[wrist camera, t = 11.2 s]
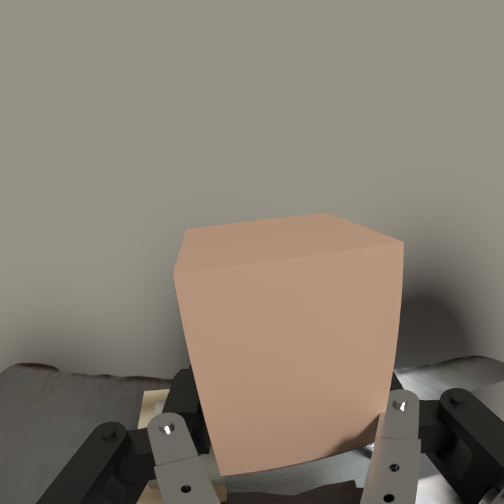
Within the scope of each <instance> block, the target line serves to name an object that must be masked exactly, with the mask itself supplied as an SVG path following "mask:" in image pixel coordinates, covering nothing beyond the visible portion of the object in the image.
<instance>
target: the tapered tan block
mask: <svg viewBox="0 0 504 504" xmlns="http://www.w3.org/2000/svg"><path fill="white" fill-rule="evenodd" d="M403 254H404V242H402V241H400V240H398V239H395V238H392V237H390V236H388V235H385V234H382V233H380V232H377V231H374V230H372V229H370V228H367V227H364V226H362V225H359V224H356V223H354V222H351V221H348V220H345V219H343V218H340V217H338V216H335V215H332V214H329V213H318V214H308V215H299V216H290V217H281V218H272V219H263V220H256V221H246V222H238V223H230V224H223V225H215V226H207V227H198V228H191V229H187V230H186V233H185V236H184V239H183V243H182V246H181V249H180V252H179V256H178V259H177V263H176V266H175V269H174V273H173V276H174V281H175V287H176V292H177V298H178V303H179V308H180V314H181V319H182V324H183V328H184V333H185V338H186V342H187V347H188V352H189V356H190V361H191V365H192V370H193V374H194V378H195V382H196V386H197V391H198V395H199V399H200V403H201V407H202V410H203V414H204V418H205V422H206V426H207V429H208V433H209V437H210V440H211V444H212V447H213V451H214V454H215V458H216V461H217V464H218V468H219V471H220V474H221V476H227V475H235V474H243V473H250V472H256V471H262V470H268V469H273V468H279V467H284V466H289V465H293V464H298V463H302V462H307V461H311V460H315V459H319V458H323V457H327V456H331V455H334V454H338V453H341V452H345V451H348V450H351V449H355V448H358V447H361V446H364V445H367V444H370V443H373V442H375V437H376V432H377V426H378V421H379V416H380V413H382V412H385V411H386V408H387V403H388V398H389V392H390V386H391V380H392V374H393V367H394V360H395V353H396V346H397V337H398V328H399V318H400V307H401V295H402V278H403Z"/></svg>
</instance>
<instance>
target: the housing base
mask: <svg viewBox="0 0 504 504" xmlns="http://www.w3.org/2000/svg"><path fill="white" fill-rule="evenodd" d="M373 447H374V442H373V443H370V444H367V445H364V446H361V447H358V448H355V449H351V450H348V451H345V452H341V453H338V454H334V455H331V456H327V457H323V458H319V459H315V460H311V461H307V462H302V463H298V464H293V465H289V466H284V467H279V468H273V469H268V470H262V471H256V472H250V473H243V474H235V475H227V476H223V479H224V482H225V485H226V489H227V492H228V493H236V492H264V493H272V494H280V495H296V494H299V493H302V492H305V491H308V490H311V489H314V488H317V487H320V486H323V485H328V484H334V483H339V482H345V481H350V480H355V483H356V487H360V488H364V484H365V480H366V476H367V472H368V468H369V464H370V459H371V455H372V451H373Z"/></svg>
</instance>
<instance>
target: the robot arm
mask: <svg viewBox="0 0 504 504" xmlns="http://www.w3.org/2000/svg"><path fill="white" fill-rule="evenodd" d="M210 446H211V440H210V437H209V433H208V429H207V426H206V422H205V418H204V414H203V410H202V407H201V403H200V399H199V395H198V391H197V386H196V382H195V378H194V374H193V370H192V365H191V364H190V367H189V369H181V370H180V371H179V372H178V373H177V374H176V375H175V376H174V379H173V381H172V386H171V387H170V390H169V393H168V396H167V398H166V401H165V404H164V407H163V410H162V413H161V414H159V415H157V416H155V417H153V418H152V419H151V420H150V421H149V423H148V425H147V427H146V428H142V429H136V430H130V431H126V429H125V427H124V426H123V425H122V424H120V423H118V422H106V423H103V424H101V425H99V426H98V427H96V428H95V429H94V430H93V432H92V433H91V434H90V435H89V437H88V438H87V439H86V440H85V442H84V443H83V444H82V446H81V447H80V448H79V449H78V451H77V452H76V453H75V454H74V456H73V457H72V458H71V459H70V461H69V462H68V463H67V465H66V466H65V467H64V468H63V470H62V471H61V472H60V473H59V475H58V476H57V477H56V479H55V480H54V481H53V482H52V484H51V485H50V486H49V487H48V489H47V490H46V491H45V493H44V494H43V495H42V496H41V498H40V499H39V500H38V502H37V503H36V504H136V503H137V502H138V500H139V498H140V496H141V494H142V492H143V491H144V489H145V487H146V485H147V483H148V481H149V480H155V479H157V482H158V485H159V489H160V492H161V496H162V499H163V502H164V504H415V500H416V493H417V484H418V475H419V474H418V473H419V464H420V453H426V455H427V456H428V458H429V459H430V460H431V461H432V463H433V464H434V465H435V466H436V468H437V469H438V470H439V471H440V473H441V474H442V475H443V476H444V478H445V479H446V480H447V482H448V483H449V484H450V485H451V487H452V488H453V489H454V490H455V492H456V493H457V494H458V495H459V497H460V498H461V499H462V501H463V502H464V503H465V504H504V422H503V421H502V420H501V419H500V418H499V417H497V416H496V415H495V414H494V413H493V412H492V411H491V410H490V409H488V408H487V407H486V406H485V405H484V404H483V403H482V402H481V401H479V400H478V399H477V398H476V397H475V396H474V395H473V394H471V393H470V392H469V391H467V390H465V389H461V388H452V389H448V390H446V391H445V392H444V393H443V394H442V395H441V398H440V400H419V398H418V397H417V395H416V394H414V393H413V392H411V391H408V390H404V389H403V387H402V385H401V384H400V382H399V380H398V378H397V377H396V375H395V373H394V372H393V374H392V380H391V386H390V392H389V398H388V403H387V408H386V411H385V412H382V413H380V416H379V421H378V426H377V432H376V437H375V442H374V447H373V451H372V455H371V459H370V464H369V468H368V472H367V476H366V480H365V484H364V488H360V487H356V483H355V480H350V481H345V482H339V483H334V484H328V485H323V486H320V487H317V488H314V489H311V490H308V491H305V492H302V493H299V494H296V495H280V494H272V493H264V492H236V493H227V500H226V501H222V502H220V501H219V499H218V497H217V495H216V492H215V490H214V488H213V486H212V484H211V482H210V479H209V477H208V475H207V473H206V470H205V468H204V466H203V463H202V461H201V459H200V456H201V454H209V452H210Z"/></svg>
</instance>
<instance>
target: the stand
mask: <svg viewBox="0 0 504 504" xmlns="http://www.w3.org/2000/svg"><path fill="white" fill-rule="evenodd" d="M169 390H170V389H166V390H156V391H144V396H143V402H142V407H141V413H140V418H139V424H138V429H142V428H146V427H147V425H148V423H149V421H150V420H151V419H152V418H153V417H155V416H157V415H159V414H161V413H162V410H163V407H164V404H165V401H166V398H167V396H168V393H169ZM200 459H201V461H202V463H203V466H204V468H205V470H206V473H207V475H208V477H209V479H210V482H211V484H212V486H213V488H214V490H215V492H216V495H217V497H218V499H219V501H220V502H222V501H226V500H227V493H228V492H227V489H226V485H225V482H224V479H223V476H221V474H220V471H219V468H218V464H217V461H216V458H215V454H214V451H213V447H212V444H211V446H210V452H209V454H201V456H200ZM136 504H164V502H163V499H162V496H161V492H160V489H159V485H158V482H157V479H155V480H149V481H148V483H147V485H146V487H145V489H144V491H143V492H142V494H141V496H140V498H139V500H138V502H137V503H136Z"/></svg>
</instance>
